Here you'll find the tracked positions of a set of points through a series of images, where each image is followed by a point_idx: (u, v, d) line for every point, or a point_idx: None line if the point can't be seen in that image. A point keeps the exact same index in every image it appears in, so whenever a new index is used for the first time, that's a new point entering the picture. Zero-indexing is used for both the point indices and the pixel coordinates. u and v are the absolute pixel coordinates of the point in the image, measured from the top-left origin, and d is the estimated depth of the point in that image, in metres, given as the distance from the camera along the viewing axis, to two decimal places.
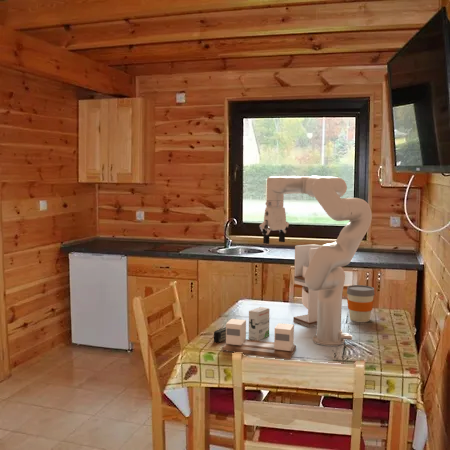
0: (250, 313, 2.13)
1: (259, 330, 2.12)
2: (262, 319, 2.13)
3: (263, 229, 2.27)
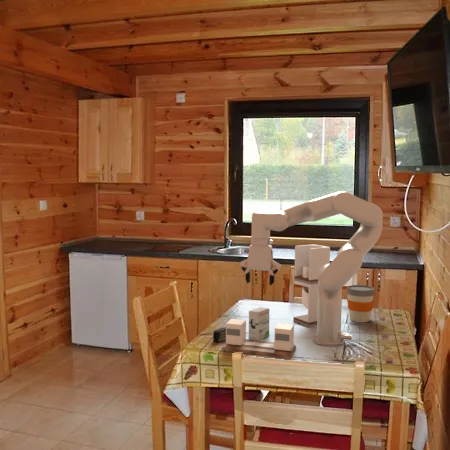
0: (250, 313, 2.13)
1: (259, 330, 2.12)
2: (262, 319, 2.13)
3: None
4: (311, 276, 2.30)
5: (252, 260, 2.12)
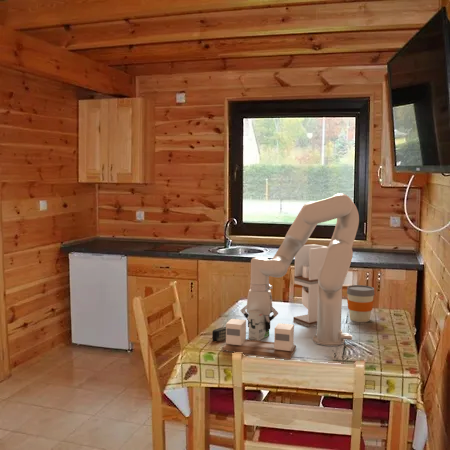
0: (250, 313, 2.13)
1: (259, 330, 2.12)
2: (262, 319, 2.13)
3: None
4: (311, 276, 2.30)
5: (252, 305, 2.14)
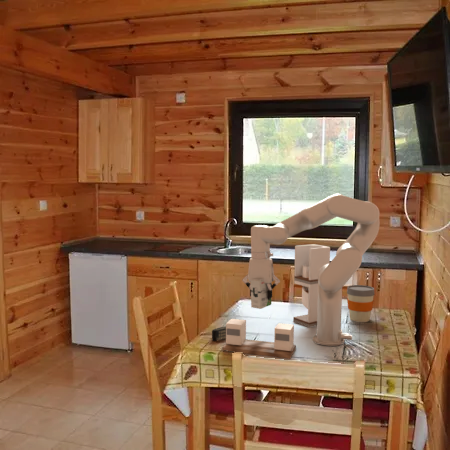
0: (252, 282, 2.12)
1: (261, 299, 2.11)
2: (264, 287, 2.12)
3: None
4: (311, 276, 2.30)
5: (253, 274, 2.12)
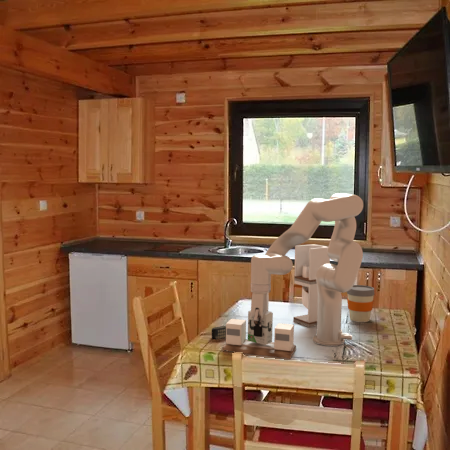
0: (267, 316, 1.96)
1: None
2: None
3: None
4: (311, 276, 2.30)
5: (265, 308, 1.96)
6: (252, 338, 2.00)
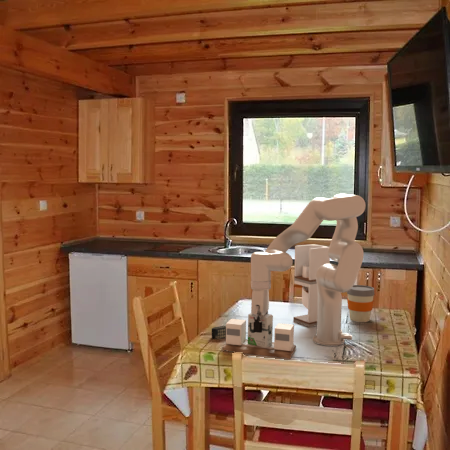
0: (268, 319, 1.97)
1: None
2: None
3: None
4: (311, 276, 2.30)
5: (265, 305, 1.96)
6: (253, 341, 2.00)
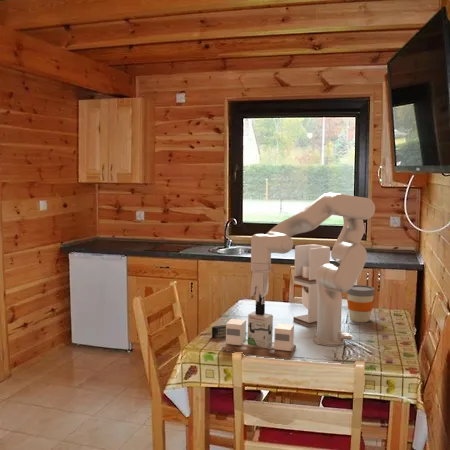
0: (268, 319, 1.97)
1: None
2: None
3: None
4: (311, 276, 2.30)
5: (265, 287, 1.96)
6: (253, 341, 2.00)
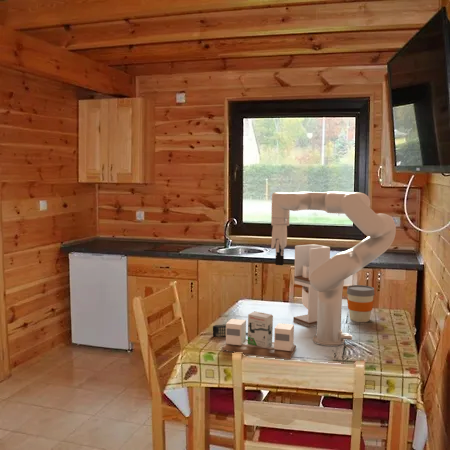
0: (268, 319, 1.97)
1: None
2: None
3: None
4: None
5: (284, 239, 2.17)
6: (253, 341, 2.00)
